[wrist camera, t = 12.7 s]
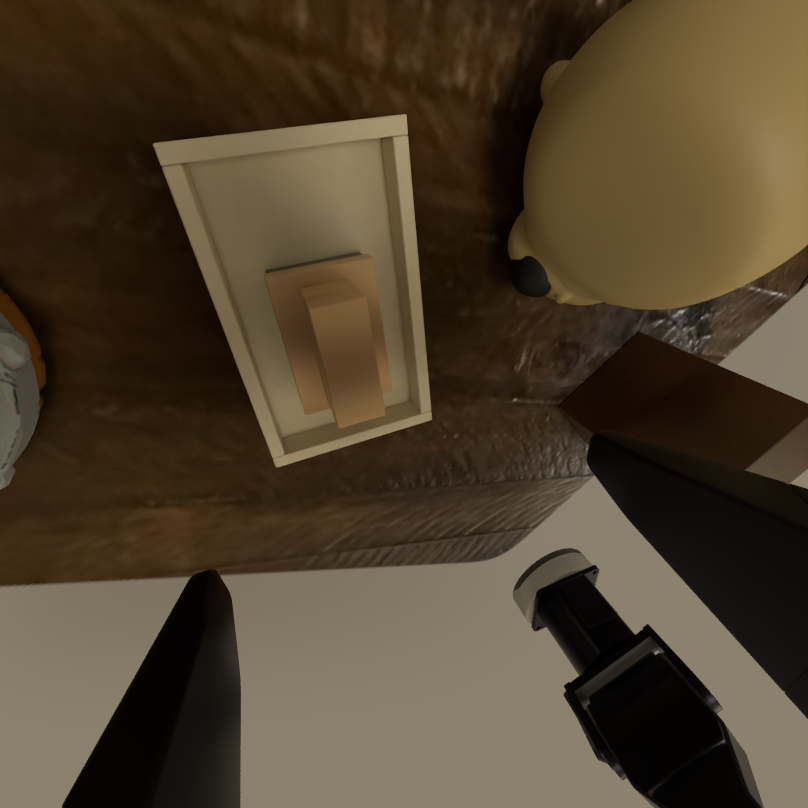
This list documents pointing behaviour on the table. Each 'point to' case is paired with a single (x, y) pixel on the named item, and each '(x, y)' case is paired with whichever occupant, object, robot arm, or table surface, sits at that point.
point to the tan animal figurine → (668, 156)
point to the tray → (305, 256)
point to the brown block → (693, 409)
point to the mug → (17, 385)
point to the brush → (333, 335)
